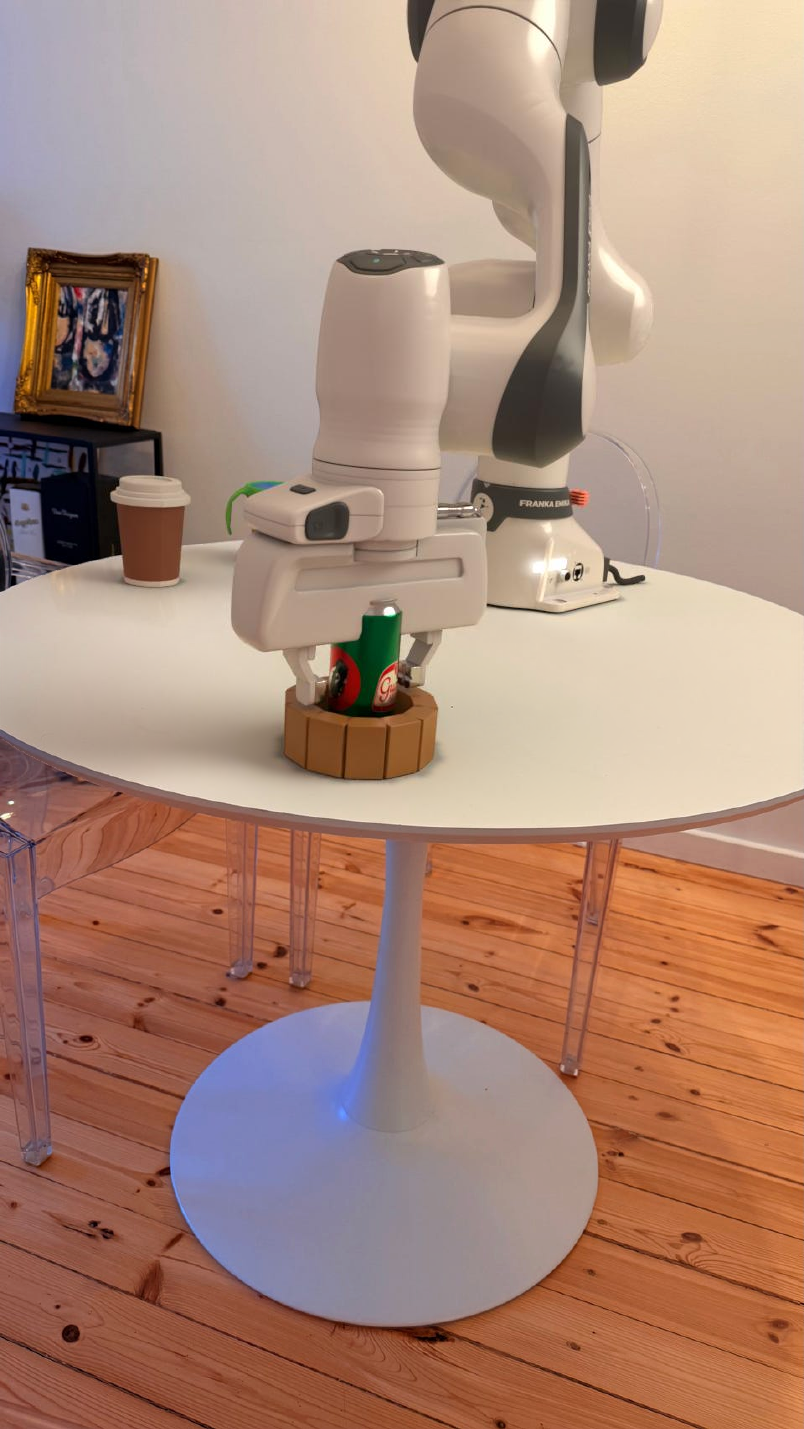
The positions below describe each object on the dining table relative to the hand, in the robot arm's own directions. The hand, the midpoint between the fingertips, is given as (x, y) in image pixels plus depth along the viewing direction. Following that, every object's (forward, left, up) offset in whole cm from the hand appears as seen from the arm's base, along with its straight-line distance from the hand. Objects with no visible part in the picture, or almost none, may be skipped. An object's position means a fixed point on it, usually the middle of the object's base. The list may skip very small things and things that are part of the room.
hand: (362, 693), depth 73 cm
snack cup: (-28, -60, -5) cm, 66 cm away
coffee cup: (-7, -55, -5) cm, 56 cm away
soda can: (0, 0, -5) cm, 5 cm away
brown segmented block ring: (0, 0, -4) cm, 4 cm away
